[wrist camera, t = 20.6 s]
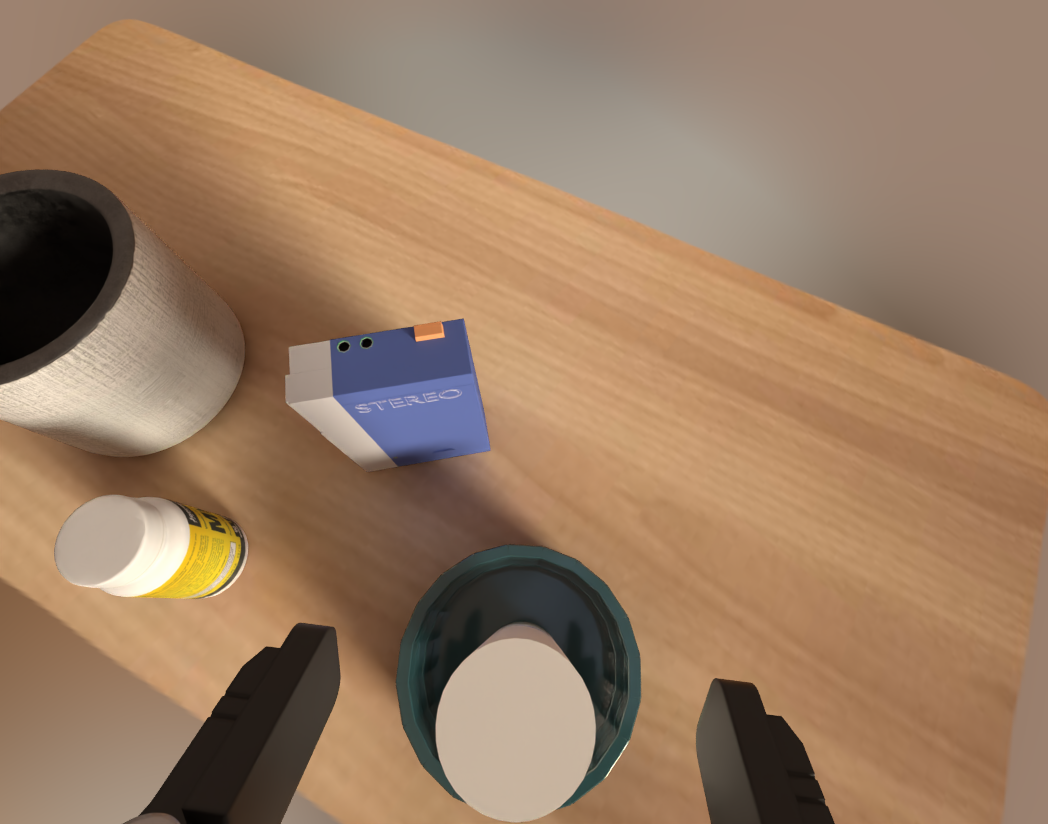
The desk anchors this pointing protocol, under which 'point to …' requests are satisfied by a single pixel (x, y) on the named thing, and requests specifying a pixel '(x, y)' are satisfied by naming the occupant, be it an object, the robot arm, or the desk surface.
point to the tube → (516, 726)
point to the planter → (104, 323)
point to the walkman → (392, 394)
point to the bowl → (521, 596)
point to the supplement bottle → (150, 548)
